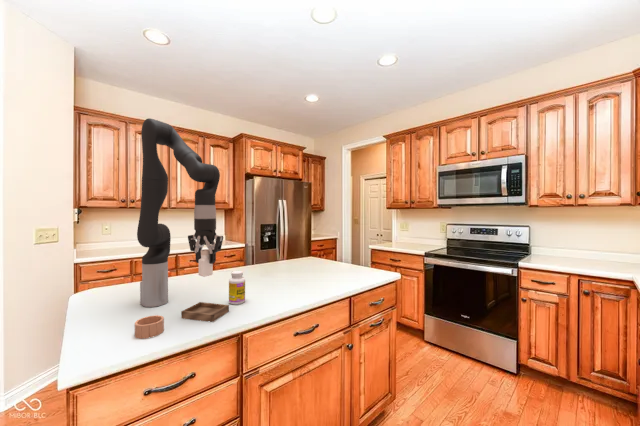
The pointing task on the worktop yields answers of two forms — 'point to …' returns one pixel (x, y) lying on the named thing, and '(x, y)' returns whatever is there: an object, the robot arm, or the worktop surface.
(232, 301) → the supplement bottle
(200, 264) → the salt shaker
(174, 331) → the worktop surface
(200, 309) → the tray
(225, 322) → the worktop surface
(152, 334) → the collar
